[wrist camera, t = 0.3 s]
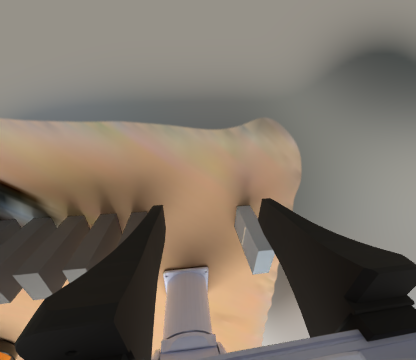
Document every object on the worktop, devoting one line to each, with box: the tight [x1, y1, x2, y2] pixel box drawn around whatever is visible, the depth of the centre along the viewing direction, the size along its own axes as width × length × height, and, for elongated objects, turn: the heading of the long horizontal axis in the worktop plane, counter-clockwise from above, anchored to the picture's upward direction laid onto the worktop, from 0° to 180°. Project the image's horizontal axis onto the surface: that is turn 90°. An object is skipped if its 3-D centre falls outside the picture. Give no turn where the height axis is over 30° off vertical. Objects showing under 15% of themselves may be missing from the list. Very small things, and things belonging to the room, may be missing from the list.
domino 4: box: [0, 217, 56, 304], centre depth 19 cm, size 2×4×8 cm, turn 178°
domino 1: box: [117, 212, 147, 247], centre depth 20 cm, size 2×4×8 cm, turn 179°
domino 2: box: [62, 214, 122, 283], centre depth 20 cm, size 2×4×8 cm, turn 179°
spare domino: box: [234, 205, 275, 274], centre depth 22 cm, size 2×4×8 cm, turn 179°
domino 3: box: [12, 215, 90, 300], centre depth 19 cm, size 2×4×8 cm, turn 179°
